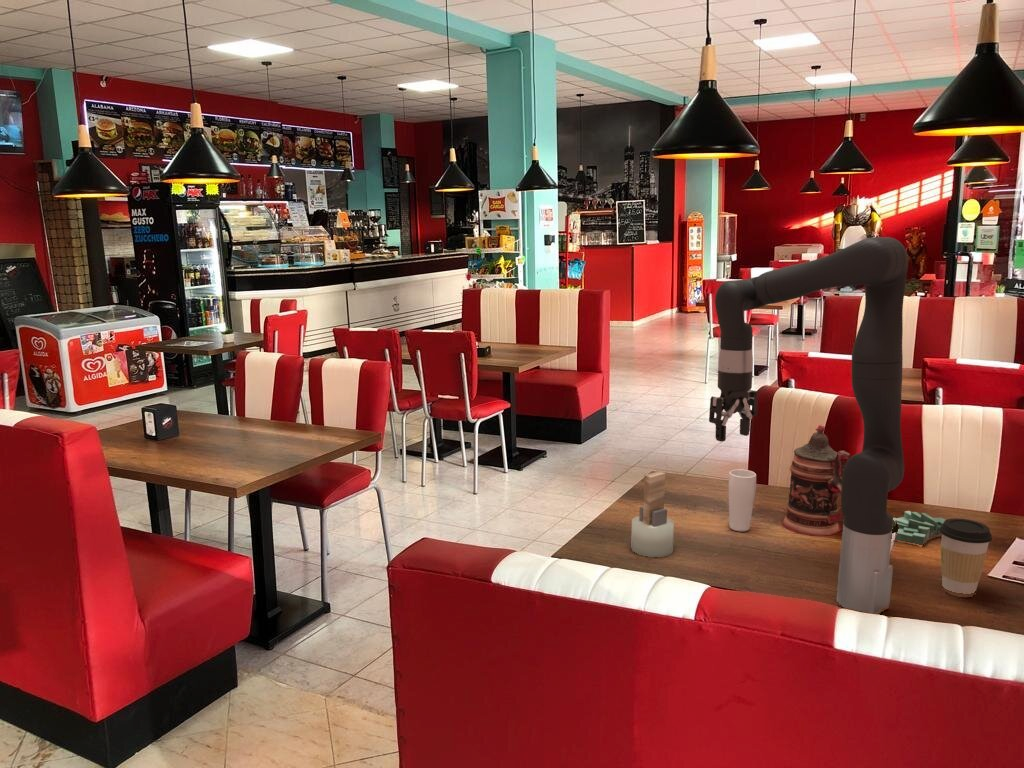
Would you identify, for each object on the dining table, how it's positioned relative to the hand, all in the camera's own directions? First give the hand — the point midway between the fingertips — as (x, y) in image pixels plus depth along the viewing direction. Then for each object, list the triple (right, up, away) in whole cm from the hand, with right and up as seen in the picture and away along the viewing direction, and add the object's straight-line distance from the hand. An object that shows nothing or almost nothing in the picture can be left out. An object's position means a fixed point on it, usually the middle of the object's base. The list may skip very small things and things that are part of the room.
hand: (732, 437), depth 186 cm
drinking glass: (+8, -25, +23) cm, 35 cm away
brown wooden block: (-17, -21, +9) cm, 28 cm away
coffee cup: (+45, -32, -12) cm, 57 cm away
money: (+52, -26, +22) cm, 62 cm away
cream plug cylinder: (-17, -28, +10) cm, 34 cm away
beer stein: (+27, -25, +24) cm, 44 cm away
